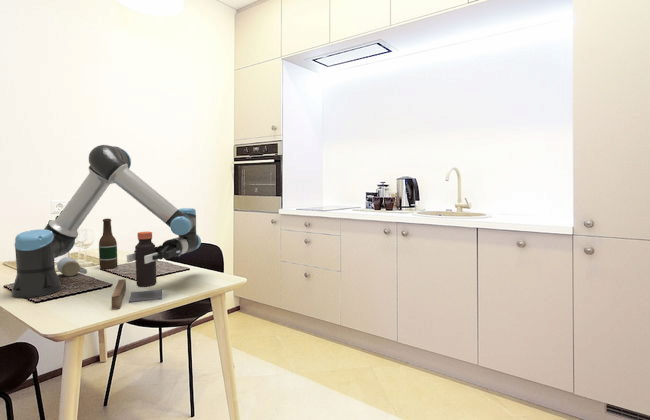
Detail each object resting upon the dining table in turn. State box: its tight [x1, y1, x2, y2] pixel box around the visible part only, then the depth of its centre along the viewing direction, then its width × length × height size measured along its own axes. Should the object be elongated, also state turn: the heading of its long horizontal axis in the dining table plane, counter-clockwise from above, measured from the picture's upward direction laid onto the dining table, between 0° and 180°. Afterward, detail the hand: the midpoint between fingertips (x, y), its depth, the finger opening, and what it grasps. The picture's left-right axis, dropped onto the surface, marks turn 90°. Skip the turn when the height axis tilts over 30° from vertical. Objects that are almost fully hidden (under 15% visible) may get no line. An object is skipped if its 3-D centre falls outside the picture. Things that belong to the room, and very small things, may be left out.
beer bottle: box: [98, 218, 118, 270], centre depth 184 cm, size 8×8×24 cm
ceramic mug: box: [56, 256, 88, 277], centre depth 172 cm, size 11×8×8 cm
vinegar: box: [134, 231, 158, 288], centre depth 142 cm, size 7×7×20 cm
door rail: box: [111, 278, 127, 310], centre depth 140 cm, size 2×22×4 cm, turn 23°
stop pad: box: [128, 289, 163, 304], centre depth 143 cm, size 11×11×1 cm
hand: (136, 259), depth 137 cm, fingers closed on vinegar, 7 cm apart
